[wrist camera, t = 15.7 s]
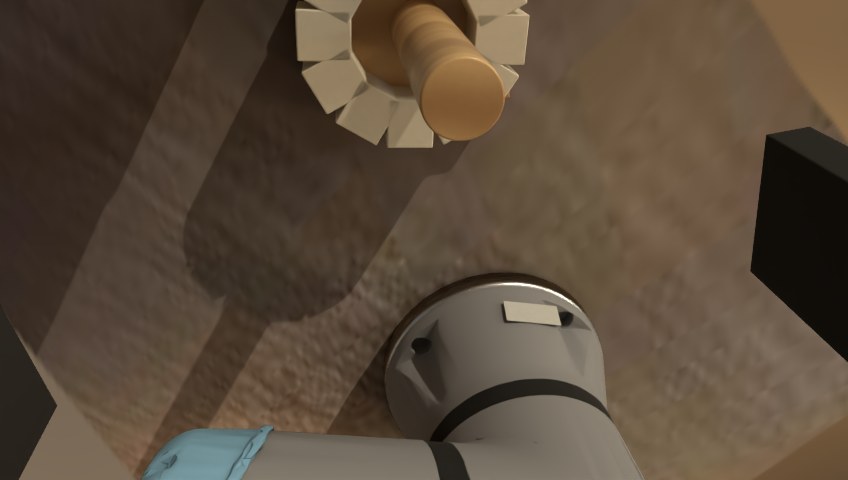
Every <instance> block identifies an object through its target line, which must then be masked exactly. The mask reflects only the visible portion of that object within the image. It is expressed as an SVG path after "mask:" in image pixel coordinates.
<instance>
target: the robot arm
mask: <svg viewBox="0 0 848 480" xmlns="http://www.w3.org/2000/svg"><path fill="white" fill-rule="evenodd" d="M750 271H751V272H752V273H753V274H754V275H755V276H756V277H757V278H758V279H759V280H760V281H761V282H762V283H764V284H765V285H766V286H767V287H768V288H769V289H770V290H771V291H772V292H773V293H774V294H775V295H776V296H777V297H779V298H780V299H781V300H782V301H783V302H784V303H785V304H786V305H787V306H788V307H789V308H790V309H791V310H792V311H794V312H795V313H796V314H797V315H798V316H799V317H800V318H801V319H802V320H803V321H804V322H805V323H806V324H807V325H808V326H810V327H811V328H812V329H813V330H814V331H815V332H816V333H817V334H818V335H819V336H820V337H821V338H822V339H823V340H825V341H826V342H827V343H828V344H829V345H830V346H831V347H832V348H833V349H834V350H835V351H836V352H837V353H838V354H840V355H841V356H842V357H843V358H844V359H845V360H846V361H847V362H848V146H846V145H844V144H842V143H840V142H838V141H836V140H834V139H832V138H831V137H829V136H827V135H825V134H823V133H821V132H819V131H817V130H815V129H813V128H811V127H806V128H801V129H795V130H790V131H784V132H779V133H774V134H768V135H766V142H765V150H764V159H763V167H762V176H761V184H760V193H759V201H758V210H757V219H756V227H755V236H754V244H753V253H752V261H751V270H750ZM383 372H384V385H385V393H386V400H387V403H388V407H389V409H390V412H391V414H392V416H393V418H394V420H395V422H396V424H397V426H398V427H399V429H400V431H401V432H402V434H403V435H404V437H405V438H406V439H397V438H381V437H365V436H349V435H333V434H317V433H301V432H285V431H273V429H274V427H273V426H268V425H265V426H263V427H261V428H260V429H193V430H190V431H186V432H184V433H181V434H179V435H177V436H176V437H174V438H172V439H171V440H170V441H169V442H167V443H166V444H165V445H164V446H163V447H162V448H161V449H160V450H159V452H158V453H157V454H156V455H155V457H154V458H153V460H152V461H151V463H150V464H149V466H148V468H147V469H146V471H145V473H144V475H143V477H142V478H141V480H645V479H644V478H643V476H642V474H641V472H640V470H639V468H638V467H637V465H636V463H635V461H634V459H633V457H632V456H631V454H630V452H629V450H628V448H627V446H626V445H625V443H624V441H623V439H622V437H621V435H620V434H619V432H618V430H617V428H616V427H615V425H614V423H613V421H612V419H611V417H610V415H609V413H608V412H607V402H606V389H605V376H604V363H603V354H602V349H601V344H600V340H599V337H598V334H597V332H596V330H595V328H594V326H593V324H592V323H591V321H590V319H589V318H588V316H587V314H586V313H585V311H584V310H583V308H582V307H581V305H580V304H579V303H578V302H577V301H576V300H575V299H574V298H573V297H572V296H571V295H570V294H569V293H568V292H566V291H565V290H563V289H562V288H560V287H559V286H557V285H555V284H553V283H551V282H549V281H546V280H544V279H541V278H538V277H534V276H530V275H525V274H518V273H490V274H483V275H478V276H473V277H469V278H466V279H463V280H459V281H457V282H454V283H452V284H449V285H447V286H445V287H443V288H441V289H439V290H437V291H436V292H434V293H433V294H431V295H429V296H428V297H427V298H425V299H424V300H422V301H421V302H420V303H419V304H418V305H416V306H415V307H414V308H413V309H412V310H411V311H410V312H409V313H408V314H407V315H406V316H405V317H404V319H403V320H402V321H401V323H400V324H399V325H398V327H397V329H396V330H395V332H394V333H393V335H392V338H391V340H390V342H389V344H388V347H387V350H386V354H385V358H384V367H383ZM56 407H57V405H56V403H55V401H54V399H53V397H52V396H51V394H50V392H49V390H48V389H47V387H46V385H45V384H44V382H43V380H42V378H41V376H40V375H39V373H38V371H37V369H36V367H35V366H34V364H33V362H32V360H31V359H30V357H29V355H28V353H27V351H26V350H25V348H24V346H23V344H22V343H21V341H20V339H19V337H18V336H17V334H16V332H15V330H14V328H13V327H12V325H11V323H10V321H9V320H8V318H7V316H6V314H5V313H4V311H3V309H2V307H1V305H0V480H19V478H20V476H21V474H22V472H23V470H24V468H25V466H26V464H27V462H28V461H29V459H30V457H31V455H32V453H33V451H34V449H35V447H36V445H37V443H38V441H39V439H40V438H41V435H42V434H43V432H44V430H45V428H46V426H47V424H48V422H49V420H50V418H51V416H52V415H53V413H54V411H55V409H56Z"/></svg>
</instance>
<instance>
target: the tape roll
mask: <svg viewBox="0 0 848 480" xmlns="http://www.w3.org/2000/svg"><path fill="white" fill-rule="evenodd" d="M361 1H362V0H305V1H298V2H297V5H296V9H295V25H296V46H297V60H298V61H303V67H302V76H303V77H304V79H305V80H306V82H307V84H308V85H309V87H310V88H311V90H312V92H313V93H314V95H315V96H316V98H317V100H318V101H319V103H320V104H321V106H322V108H323V109H324V111H325V112H326V114H329V113H331V112H333V111H334V110H336V123H337V124H338V125H340V126H342V127H344V128H346V129H348V130H349V131H351V132H353V133H355V134H357V135H358V136H360V137H362V138H364V139H366V140H368V141H369V142H371V143H373V144H375V145H377V143H378V142H379V140H380V139H381V137H382V135H383V134H385V139H386V144H387V147H388V148H432V147H433V131H432V130H431V129H430V128H429V127H428V125H427V124H426V123H425V121H424V119H423V117H422V114H421V112H420V109H419V107H418V104H417V102H416V99H415V96H414V94H413V91H412V89H411V86H391V85H390V84H388V83H386V82H385V81H383V80H381V79H380V78H378V77H376V76H375V75H373V74H371V73H369V72H368V71H366V70H365V68H364V66H363V65H362V63H361V61H360V59H359V58H358V56H357V54H356V52H355V51H354V49H353V47H352V45H351V19H352V17H353V15H354V13H355V12H356V10H357V8H358V6H359V4H360V3H361ZM461 1H462V3H463V6H464V8H465V10H466V12H467V22H466V37H467V38H468V39H469V40H470V42H471V43H472V44H473V45H474V46H475V47H476V48H477V50H478V51H479V52H480V53H481V54H482V55H483V56H484V57H485V59H486V60H487V61H488V62H489V63H490V64H491V65H492V66H493V68H494V69H495V70H496V71H497V72H498V74H499V76H500V77H501V80H502V82H503V85H504V90H505V96H506V95H507V94H508V92H509V91H510V89H511V88H512V86H513V85H514V83H515V82H516V80H517V79H518V77H519V75H518V74H517V73H516V72H515V71H514V70H513V69H512V68H511V67H510V66H509V65H524V60H525V51H526V42H527V34H528V25H529V15H528V14H526V13H525V12H523V11H522V10H520V9H519V7H521V6H523V5H525V4H526V3H527V0H461ZM438 136H439V135H438ZM439 138H440V140H441V142H442V143H443V144H446V143H448V142H450V141H452V140H448V139H445V138H443V137H441V136H439Z"/></svg>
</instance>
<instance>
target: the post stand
mask: <svg viewBox="0 0 848 480" xmlns="http://www.w3.org/2000/svg"><path fill="white" fill-rule="evenodd" d="M466 22H467V12H466V10H465V8H464V6H463V3H462V1H461V0H362V1H361V3H360V4H359V6H358V8H357V10H356V12H355V13H354V15H353V17H352V19H351V45H352V47H353V49H354V51H355V52H356V54H357V56H358V58H359V59H360V61H361V63H362V65H363V66H364V68H365V70H366V71H368V72H369V73H371V74H373V75H375V76H376V77H378V78H380V79H381V80H383V81H385V82H386V83H388V84H390V85H391V86H411V89H412V91H413V94H414V96H415V99H416V102H417V104H418V107H419V109H420V112H421V114H422V117H423V119H424V121H425V123H426V124H427V125H428V127H429V128H430V129H431V130H432V131H433V132H434V133H436V134H437V135H439V136H441V137H443V138H445V139H448V140H453V141H466V140H471V139H474V138H477V137H479V136H481V135H483V134H484V133H486V132H487V131H488V130H489V129H490V128H492V126H493V125H494V124H495V123H496V122H497V120H498V119H499V117H500V115H501V113H502V110H503V106H504V101H505V99H506V98H509V97H510V95H509V92H508V94H507V95H506V96H505V90H504V85H503V82H502V80H501V77H500V76H499V74H498V72H497V71H496V70H495V69H494V68H493V66H492V65H491V64H490V63H489V62H488V61H487V60H486V59H485V57H484V56H483V55H482V54H481V53H480V52H479V51H478V50H477V48H476V47H475V46H474V45H473V44H472V43H471V42H470V40H469V39H468V38H467V37H466Z"/></svg>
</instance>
